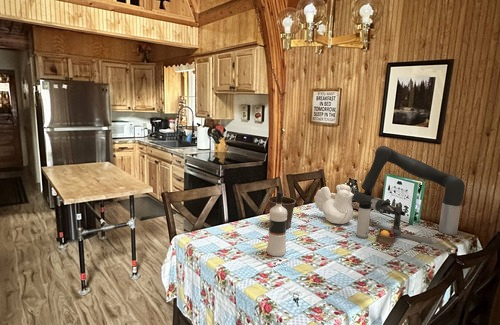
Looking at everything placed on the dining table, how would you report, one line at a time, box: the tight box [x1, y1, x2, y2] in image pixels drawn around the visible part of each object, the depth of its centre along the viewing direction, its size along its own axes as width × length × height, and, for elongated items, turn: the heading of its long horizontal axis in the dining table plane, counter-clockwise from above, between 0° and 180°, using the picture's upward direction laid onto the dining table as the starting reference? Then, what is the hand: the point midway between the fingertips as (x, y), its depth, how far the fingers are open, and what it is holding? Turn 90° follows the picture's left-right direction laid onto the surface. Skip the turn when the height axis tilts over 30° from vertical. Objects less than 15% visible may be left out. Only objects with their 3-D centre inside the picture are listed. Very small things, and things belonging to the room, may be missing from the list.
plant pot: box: [267, 195, 297, 230], centre depth 187 cm, size 16×16×16 cm
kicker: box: [390, 202, 403, 237], centre depth 174 cm, size 14×5×18 cm, turn 154°
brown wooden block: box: [375, 227, 395, 246], centre depth 173 cm, size 12×8×4 cm
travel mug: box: [355, 201, 372, 239], centre depth 175 cm, size 6×7×20 cm
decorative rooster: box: [314, 183, 355, 225], centre depth 199 cm, size 25×16×25 cm, turn 39°
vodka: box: [266, 191, 287, 257], centre depth 150 cm, size 9×9×30 cm
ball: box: [380, 230, 390, 237], centre depth 173 cm, size 5×5×5 cm
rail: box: [394, 232, 433, 245], centre depth 176 cm, size 5×23×1 cm, turn 64°
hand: (402, 214), depth 175 cm, fingers closed on kicker, 3 cm apart
